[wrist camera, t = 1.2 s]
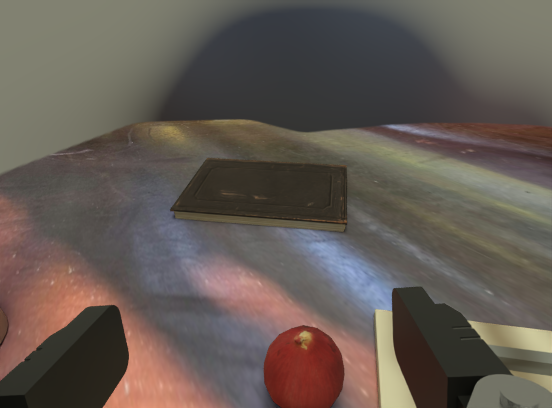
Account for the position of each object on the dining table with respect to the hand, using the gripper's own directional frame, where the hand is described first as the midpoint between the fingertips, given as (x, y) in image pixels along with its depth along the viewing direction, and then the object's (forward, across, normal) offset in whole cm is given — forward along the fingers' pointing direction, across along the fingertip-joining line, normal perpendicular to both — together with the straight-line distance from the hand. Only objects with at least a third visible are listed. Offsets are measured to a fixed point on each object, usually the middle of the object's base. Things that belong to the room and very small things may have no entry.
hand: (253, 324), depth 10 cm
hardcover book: (+43, +3, +6) cm, 44 cm away
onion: (+15, -1, +16) cm, 22 cm away
